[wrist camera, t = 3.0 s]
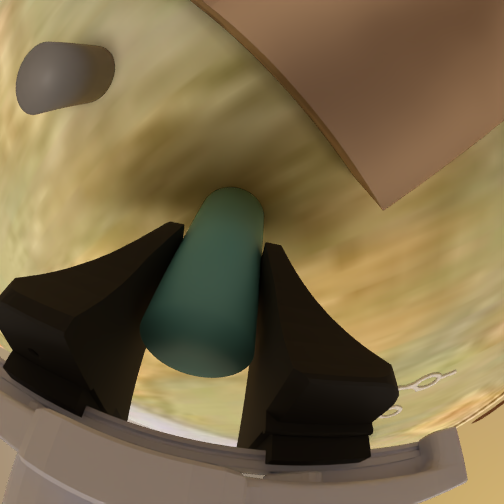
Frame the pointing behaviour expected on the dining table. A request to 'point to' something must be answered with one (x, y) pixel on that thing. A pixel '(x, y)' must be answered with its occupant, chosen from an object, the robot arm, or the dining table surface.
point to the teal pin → (210, 290)
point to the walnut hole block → (382, 77)
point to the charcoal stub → (63, 76)
